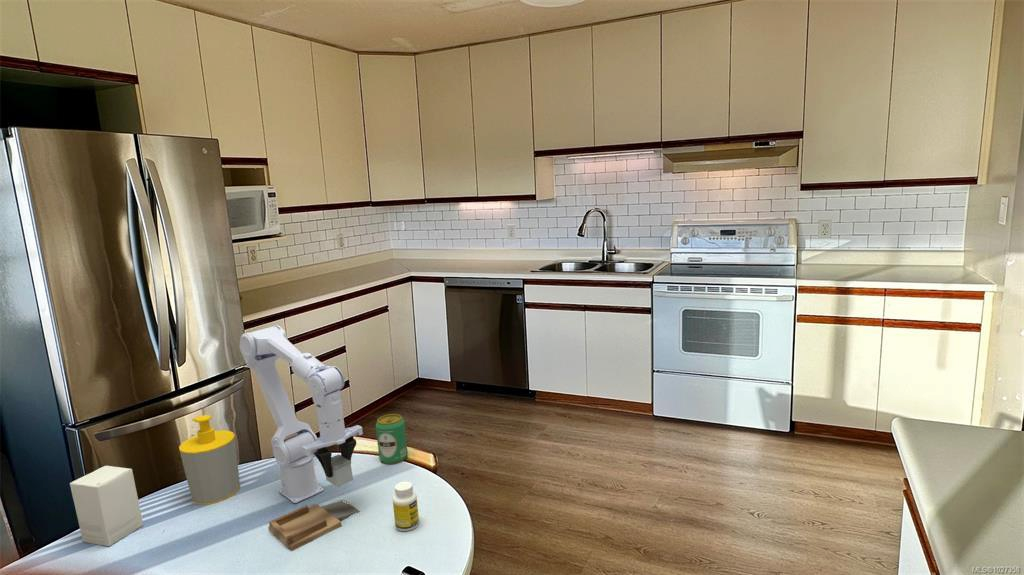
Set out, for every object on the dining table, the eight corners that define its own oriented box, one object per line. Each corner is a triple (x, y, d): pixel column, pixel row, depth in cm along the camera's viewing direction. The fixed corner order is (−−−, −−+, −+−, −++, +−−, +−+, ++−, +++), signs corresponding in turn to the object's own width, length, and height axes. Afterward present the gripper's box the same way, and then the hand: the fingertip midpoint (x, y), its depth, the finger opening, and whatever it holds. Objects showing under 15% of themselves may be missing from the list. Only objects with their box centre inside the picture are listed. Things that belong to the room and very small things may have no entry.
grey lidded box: (325, 480, 140) (322, 461, 139) (341, 473, 143) (338, 454, 142) (338, 487, 136) (335, 468, 135) (353, 480, 139) (351, 460, 138)
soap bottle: (218, 477, 161) (206, 405, 158) (254, 483, 157) (242, 409, 153) (176, 502, 150) (162, 425, 146) (213, 509, 145) (200, 430, 141)
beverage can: (375, 464, 163) (370, 424, 161) (385, 451, 170) (381, 413, 168) (402, 465, 161) (397, 424, 159) (411, 451, 169) (407, 413, 167)
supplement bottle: (414, 532, 129) (410, 492, 127) (391, 531, 130) (387, 491, 129) (422, 518, 134) (418, 480, 133) (400, 517, 136) (396, 479, 134)
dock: (269, 532, 134) (267, 520, 134) (339, 499, 147) (338, 488, 146) (292, 553, 126) (290, 540, 125) (364, 516, 138) (363, 504, 138)
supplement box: (145, 525, 140) (133, 467, 137) (109, 547, 132) (96, 487, 129) (118, 520, 143) (106, 464, 140) (81, 542, 135) (68, 482, 132)
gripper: (310, 434, 129) (317, 490, 131) (366, 412, 139) (372, 465, 141) (295, 426, 133) (303, 480, 136) (351, 406, 144) (357, 457, 146)
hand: (337, 472), depth 139 cm, fingers closed on grey lidded box, 4 cm apart
